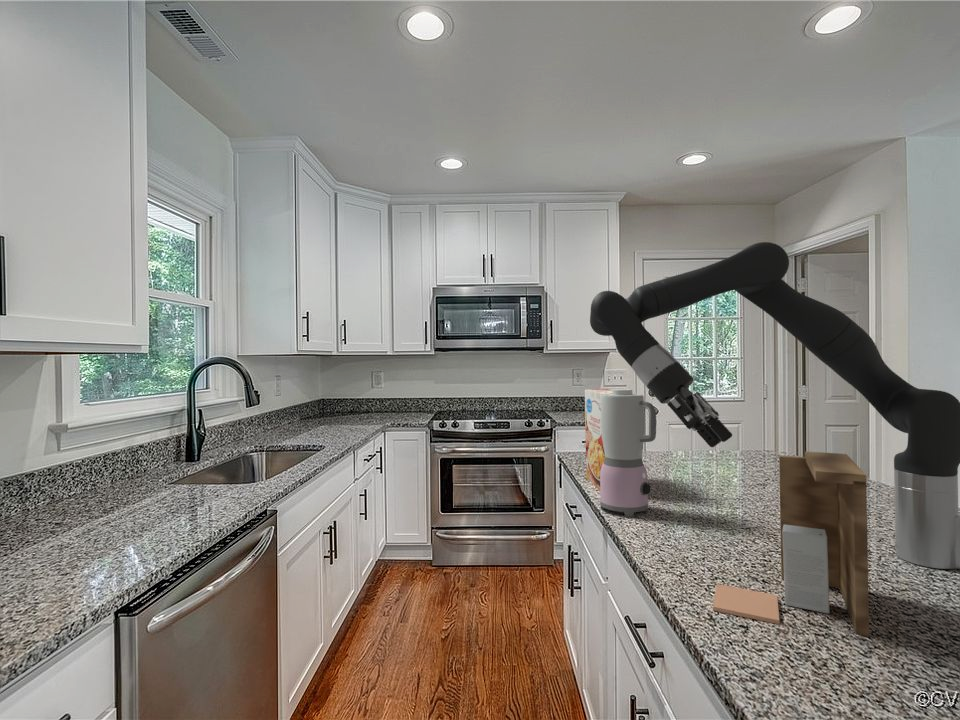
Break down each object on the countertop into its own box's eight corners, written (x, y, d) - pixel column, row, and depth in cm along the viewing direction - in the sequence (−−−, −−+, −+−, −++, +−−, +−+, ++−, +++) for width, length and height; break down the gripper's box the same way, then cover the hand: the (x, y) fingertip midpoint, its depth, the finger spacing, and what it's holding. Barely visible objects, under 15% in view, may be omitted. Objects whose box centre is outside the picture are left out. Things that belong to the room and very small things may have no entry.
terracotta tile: (777, 598, 82) (777, 595, 82) (779, 624, 74) (779, 620, 74) (716, 587, 86) (716, 583, 86) (713, 610, 78) (713, 606, 78)
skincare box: (828, 603, 80) (826, 529, 80) (829, 615, 76) (828, 537, 76) (784, 594, 83) (782, 523, 83) (783, 605, 79) (782, 530, 79)
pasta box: (586, 477, 168) (584, 389, 168) (609, 477, 168) (608, 389, 168) (605, 496, 145) (603, 394, 145) (632, 495, 145) (630, 393, 145)
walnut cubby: (848, 586, 85) (846, 453, 85) (869, 636, 70) (866, 474, 70) (781, 575, 90) (778, 449, 90) (786, 619, 75) (783, 468, 75)
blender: (590, 509, 132) (588, 390, 132) (616, 500, 140) (614, 387, 140) (644, 523, 120) (642, 392, 120) (669, 512, 128) (667, 389, 128)
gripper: (664, 359, 88) (731, 433, 81) (687, 361, 99) (748, 425, 92) (633, 387, 91) (695, 459, 84) (659, 385, 102) (715, 449, 95)
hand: (722, 441), depth 88 cm, fingers open, 8 cm apart
